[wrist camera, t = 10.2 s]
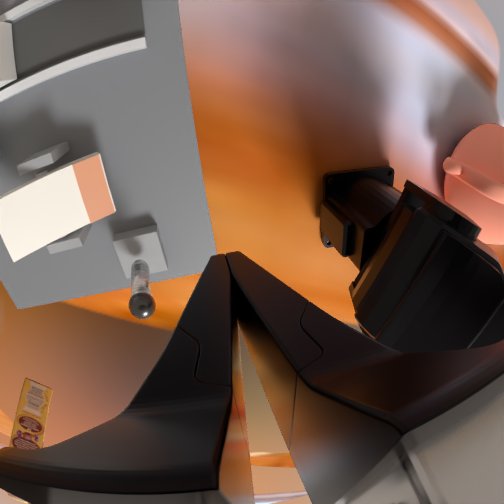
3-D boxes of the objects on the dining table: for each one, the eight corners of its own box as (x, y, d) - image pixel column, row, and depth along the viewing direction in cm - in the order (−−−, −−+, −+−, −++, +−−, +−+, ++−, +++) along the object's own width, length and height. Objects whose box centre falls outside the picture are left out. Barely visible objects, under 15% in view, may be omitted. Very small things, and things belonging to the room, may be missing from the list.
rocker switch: (94, 148, 15) (99, 150, 14) (111, 208, 18) (117, 214, 17) (-11, 197, 12) (-13, 202, 11) (15, 257, 14) (15, 266, 13)
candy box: (22, 374, 27) (3, 487, 14) (53, 387, 29) (41, 500, 16) (20, 403, 30) (8, 497, 17) (47, 414, 32) (39, 508, 19)
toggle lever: (148, 251, 18) (152, 309, 16) (154, 265, 20) (160, 321, 17) (124, 256, 18) (125, 314, 16) (132, 270, 19) (134, 325, 17)
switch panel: (172, -50, 11) (171, -80, 7) (216, 254, 24) (225, 293, 20) (-52, 47, 9) (-89, 51, 5) (25, 294, 22) (8, 332, 18)
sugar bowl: (475, 228, 30) (531, 276, 22) (403, 212, 26) (477, 275, 18) (507, 139, 24) (573, 174, 16) (442, 91, 20) (536, 122, 12)
